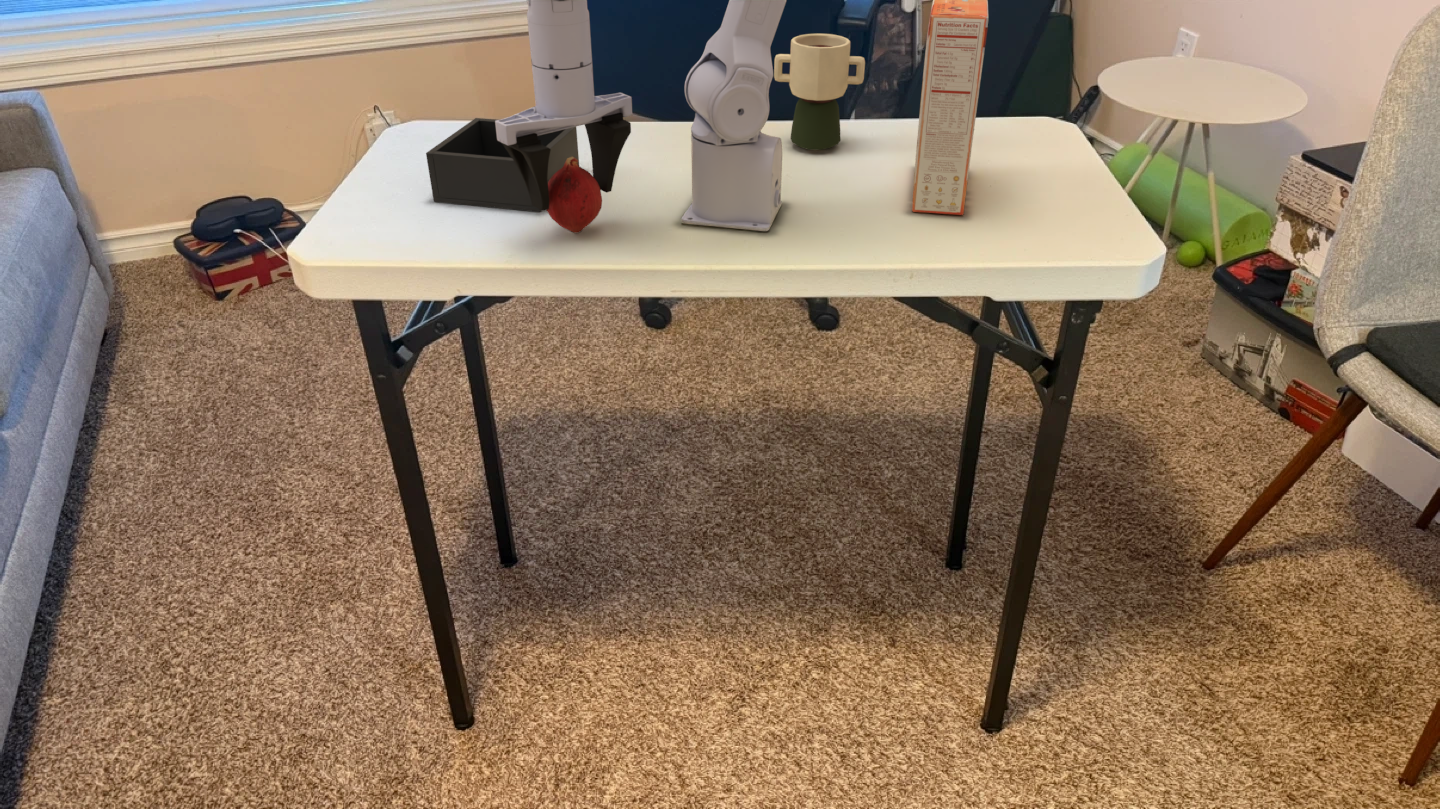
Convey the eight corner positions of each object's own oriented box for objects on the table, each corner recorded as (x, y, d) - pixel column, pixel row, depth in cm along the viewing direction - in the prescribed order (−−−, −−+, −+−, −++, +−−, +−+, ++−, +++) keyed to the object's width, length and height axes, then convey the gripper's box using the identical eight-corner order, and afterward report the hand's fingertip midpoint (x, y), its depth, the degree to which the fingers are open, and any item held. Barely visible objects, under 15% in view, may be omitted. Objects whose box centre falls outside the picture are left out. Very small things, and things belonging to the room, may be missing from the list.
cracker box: (913, 168, 122) (934, -17, 110) (965, 172, 121) (991, -15, 109) (907, 213, 110) (928, 11, 99) (963, 217, 109) (992, 14, 98)
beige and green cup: (858, 138, 131) (866, 34, 124) (858, 157, 125) (866, 49, 118) (774, 135, 132) (777, 31, 125) (769, 154, 126) (773, 46, 119)
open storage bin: (579, 172, 120) (576, 125, 117) (539, 212, 110) (534, 162, 107) (481, 163, 123) (475, 117, 120) (433, 201, 113) (425, 152, 110)
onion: (594, 246, 103) (588, 170, 98) (540, 241, 104) (532, 166, 99) (610, 224, 108) (606, 150, 103) (558, 219, 109) (552, 146, 104)
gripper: (600, 42, 103) (608, 171, 110) (472, 66, 95) (489, 203, 102) (642, 55, 98) (647, 189, 106) (512, 82, 90) (527, 225, 98)
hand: (572, 198), depth 104 cm, fingers open, 7 cm apart
